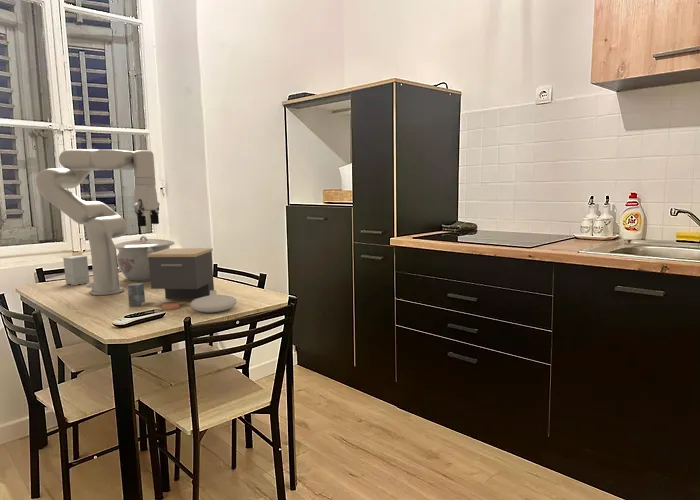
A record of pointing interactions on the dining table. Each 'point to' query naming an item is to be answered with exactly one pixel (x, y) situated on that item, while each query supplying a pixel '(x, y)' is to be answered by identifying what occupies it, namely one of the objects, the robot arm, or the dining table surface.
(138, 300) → the grey block with handle
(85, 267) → the supplement box
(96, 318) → the dining table surface
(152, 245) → the chamber pot
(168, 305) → the coaster
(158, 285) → the cabinet
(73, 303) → the dining table surface
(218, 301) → the grey domed lid
